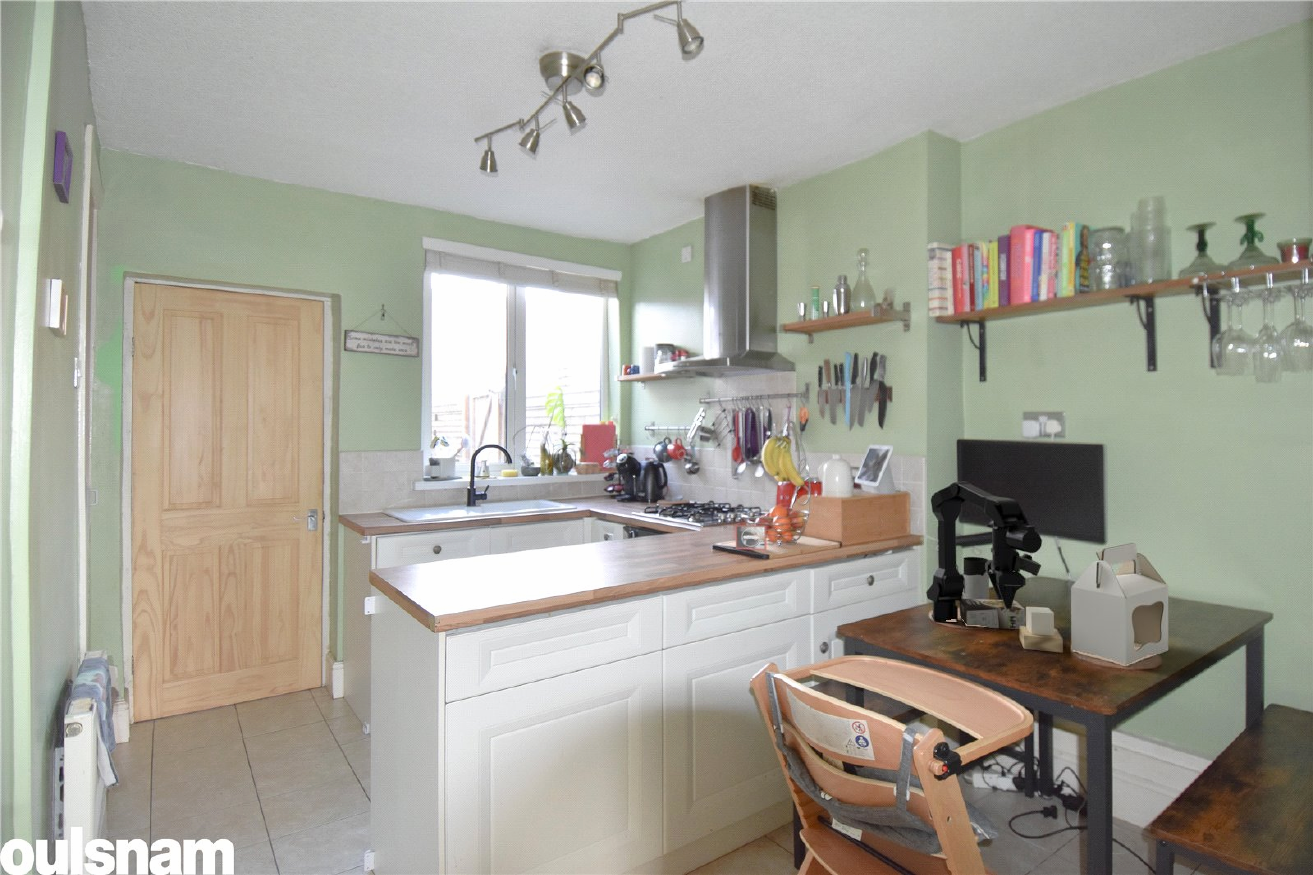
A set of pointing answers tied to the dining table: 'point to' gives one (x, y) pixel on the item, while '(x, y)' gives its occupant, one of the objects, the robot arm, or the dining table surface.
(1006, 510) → the robot arm
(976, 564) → the glass holder
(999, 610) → the coffee box
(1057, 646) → the oak block
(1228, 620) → the dining table surface
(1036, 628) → the off-white plain cube
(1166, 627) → the gable box
